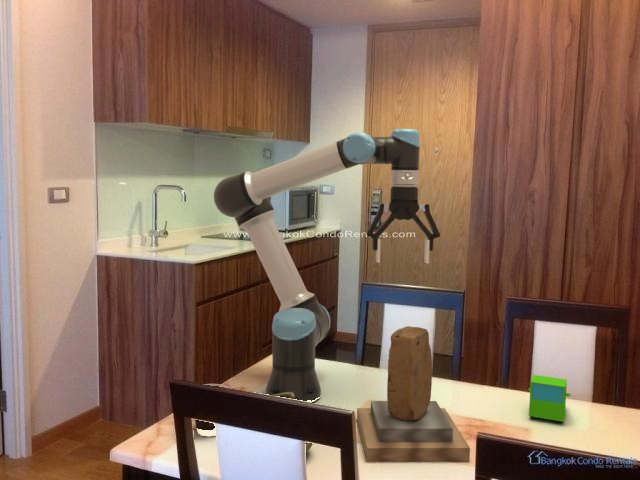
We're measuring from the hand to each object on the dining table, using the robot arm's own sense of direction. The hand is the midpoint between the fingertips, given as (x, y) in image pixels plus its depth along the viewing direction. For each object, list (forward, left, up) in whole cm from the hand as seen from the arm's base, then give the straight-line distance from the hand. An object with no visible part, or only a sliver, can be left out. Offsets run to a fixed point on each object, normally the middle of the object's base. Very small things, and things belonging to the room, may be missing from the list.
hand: (402, 262), depth 165 cm
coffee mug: (-48, -27, -37) cm, 66 cm away
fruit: (-30, -39, -37) cm, 62 cm away
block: (-3, -32, -31) cm, 45 cm away
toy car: (+36, -17, -37) cm, 54 cm away
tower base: (-3, -32, -37) cm, 49 cm away
